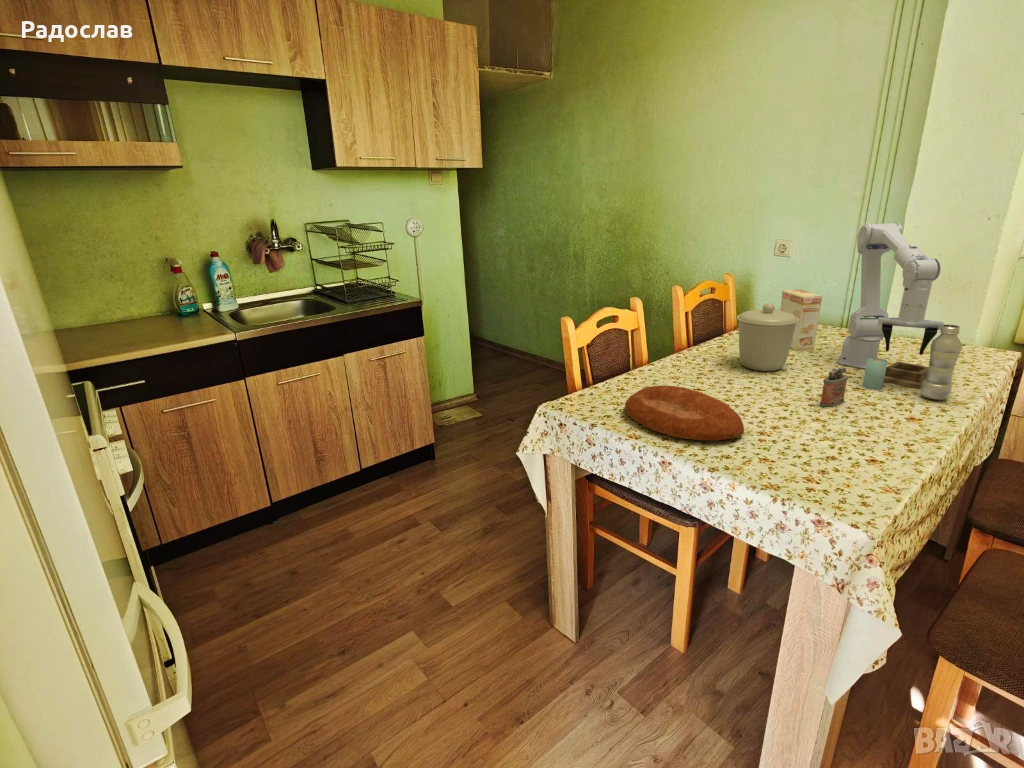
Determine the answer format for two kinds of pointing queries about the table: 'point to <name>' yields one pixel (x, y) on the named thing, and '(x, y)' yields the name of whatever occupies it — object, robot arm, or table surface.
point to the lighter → (834, 388)
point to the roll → (874, 373)
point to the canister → (765, 337)
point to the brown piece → (906, 374)
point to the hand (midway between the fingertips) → (903, 352)
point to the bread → (684, 413)
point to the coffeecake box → (802, 316)
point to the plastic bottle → (942, 364)
